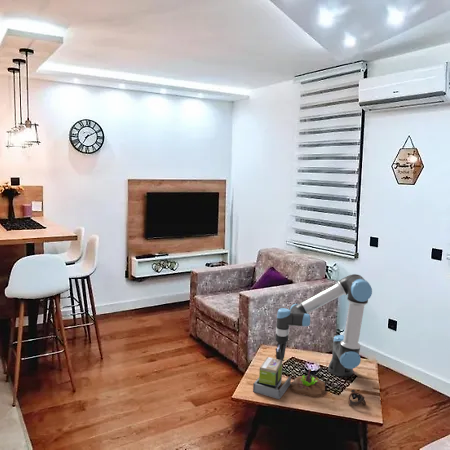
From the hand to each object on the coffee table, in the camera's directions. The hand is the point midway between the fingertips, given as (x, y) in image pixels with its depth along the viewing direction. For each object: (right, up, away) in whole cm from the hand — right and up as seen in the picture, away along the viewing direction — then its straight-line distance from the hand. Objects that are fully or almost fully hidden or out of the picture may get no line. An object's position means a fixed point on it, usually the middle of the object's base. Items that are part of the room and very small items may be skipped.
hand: (279, 371), depth 277 cm
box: (-5, -6, -11) cm, 14 cm away
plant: (+16, -7, -8) cm, 19 cm away
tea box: (-6, -6, -9) cm, 13 cm away
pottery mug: (+40, -11, -24) cm, 47 cm away
